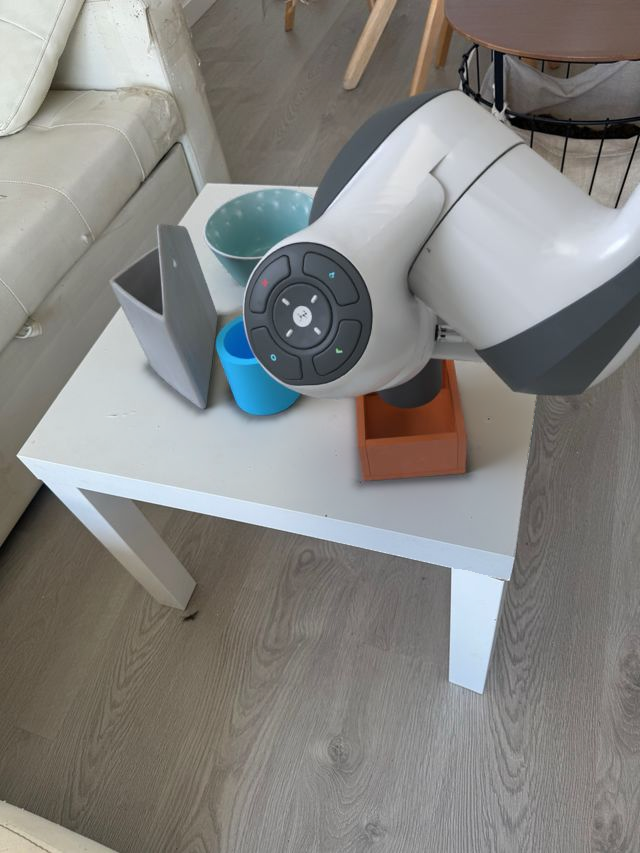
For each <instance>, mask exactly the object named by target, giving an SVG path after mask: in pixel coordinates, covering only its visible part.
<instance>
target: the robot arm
mask: <svg viewBox="0 0 640 853" xmlns="http://www.w3.org/2000/svg"><path fill="white" fill-rule="evenodd" d="M313 197H314V200H313V204H312V208H311V212H310V217H309V222H308V227H307V228H305V229H303V230H301V231H299V232H297V233H295V234H293V235H291V236H289V237H287V238H285V239H283V240H282V241H280V242H279V243H278V244H276V245H275V246H273V247H272V248H271V249H270V250H269V251H268V252H267V253H266V254H265V255H264V256H263V258H262V259H261V260H260V261H259V263H258V264H257V266H256V267H255V268H254V270H253V272H252V273H251V275H250V278H249V280H248V283H247V285H246V288H245V290H244V293H243V300H242V315H243V321H244V327H245V332H246V336H247V339H248V343H249V345H250V348H251V350H252V352H253V354H254V356H255V357H256V359H257V360H258V362H259V363H260V365H261V366H262V367H263V369H264V370H265V371H266V372H267V373H268V374H269V375H270V376H271V377H272V378H273V379H275V380H276V381H277V382H279V383H280V384H282V385H284V386H285V387H287V388H289V389H291V390H294V391H296V392H298V393H301V394H300V395H303V396H308V397H311V398H316V399H322V400H339V399H340V400H343V399H348V398H356V396H360V395H364V394H368V393H371V392H375V391H380V390H384V389H388V388H392V387H395V386H398V385H401V384H403V383H405V382H407V381H408V380H410V379H412V378H413V377H414V376H416V375H417V374H418V373H419V372H420V371H421V370H422V369H423V368H424V367H425V365H426V364H427V362H428V361H429V359H430V358H434V359H446V360H454V361H459V362H472V363H485V364H486V365H487V366H488V367H489V368H490V369H491V370H492V372H494V373H495V374H496V375H497V377H498V378H500V380H502V382H503V383H504V384H505V385H506V386H507V387H508V388H509V390H511V392H513V393H520V394H526V395H535V396H536V395H537V396H552V397H555V396H556V397H558V396H561V397H563V396H579V395H582V394H583V393H584V392H585V391H586V390H588V389H590V388H592V387H595V386H597V385H598V384H599V383H601V382H603V381H604V380H605V379H607V378H608V377H610V376H611V375H612V374H613V373H614V372H616V371H617V370H618V369H619V368H620V367H621V366H622V365H623V364H624V363H625V362H626V361H627V360H628V359H629V358H630V357H631V355H632V354H633V353H634V352H635V351H636V350H637V348H638V347H639V346H640V181H639V182H638V183H637V184H636V186H635V188H634V189H633V191H632V192H631V194H630V196H629V197H628V199H627V201H626V202H625V204H624V205H623V206H622V207H619V208H615V207H609V206H607V205H604V204H603V203H601V202H599V201H597V200H596V199H595V198H593V197H592V196H591V195H589V194H588V193H587V192H585V190H584V189H582V188H581V187H579V186H578V185H577V184H576V183H575V182H573V181H572V180H571V179H570V178H568V177H567V176H566V175H565V174H564V173H562V172H561V171H560V170H558V169H557V168H556V167H555V166H554V165H553V164H551V163H550V162H549V161H547V159H545V158H544V157H542V156H541V155H540V154H539V153H538V152H536V151H535V150H534V149H533V148H532V147H530V146H529V145H528V144H527V141H526V140H524V139H523V138H522V137H521V136H519V134H517V133H515V132H514V130H512V129H511V128H510V127H508V126H507V125H506V124H505V123H504V122H503V121H501V120H500V119H499V118H497V117H496V116H495V115H493V113H491V112H489V111H488V110H487V109H486V108H485V107H484V106H482V105H481V104H480V103H478V102H477V101H475V99H473V98H472V97H470V96H469V95H468V94H466V93H465V92H464V90H462V89H461V88H453V87H452V88H451V87H448V88H447V87H445V88H436V89H431V90H426V91H423V92H419V93H416V94H413V95H410V96H408V97H406V98H403V99H400V100H397V101H395V102H393V103H391V104H389V105H386V106H384V107H382V108H381V109H379V110H377V111H376V112H375V113H373V114H372V115H371V116H370V117H368V119H366V120H365V121H364V122H363V123H362V125H360V127H358V129H357V130H356V131H355V132H354V133H353V134H352V135H351V136H350V138H349V139H348V140H347V141H346V143H345V144H344V145H343V146H342V148H341V149H340V151H338V153H337V155H336V156H335V157H334V159H333V160H332V162H331V164H330V165H329V167H328V168H327V170H326V171H325V174H324V175H323V177H322V179H321V180H320V183H319V184H318V187H317V188H316V191H315V193H314V195H313Z"/></svg>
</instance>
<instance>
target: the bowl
mask: <svg viewBox="0 0 640 853" xmlns="http://www.w3.org/2000/svg"><path fill="white" fill-rule="evenodd" d="M313 200H314V195H312V194H310V193H308V192H306V191H303V190H301V189H297V188H291V187H267V188H260V189H255V190H250V191H248V192H244V193H241V194H239V195H237V196H234V197H231V198H230V199H228V200H227V201H225V202H223V203H222V204H220V205H219V206H217V207H216V208H215V209H214V210H213V211H212V212H210V214H209V216H208V217H207V219H206V221H205V223H204V225H203V229H202V236H203V239H204V242H205V243H206V245H207V247H208V248H209V249H210V251H211V252H212V254H213V255H214V257H216V259H217V260H218V261H219V263H220V264H221V266H223V267H224V269H225V270H226V271H227V273H228V274H229V275H230V276H231V278H233V279H234V281H235V282H236V283H237V284H238V285H239V286H241V287H243V288H245V289H246V285H247V283H248V280H249V278H250V275H251V273H252V272H253V270H254V268H255V267H256V266H257V264H258V263H259V261H260V260H261V259H262V258H263V256H264V255H265V254H266V253H267V252H268V251H269V250H270V249H271V248H272V247H273V246H275V245H276V244H278V243H279V242H280V241H282V240H283V239H285V238H287V237H289V236H291V235H293V234H295V233H297V232H299V231H301V230H303V229H305V228H307V227H308V222H309V217H310V212H311V208H312V204H313Z"/></svg>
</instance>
